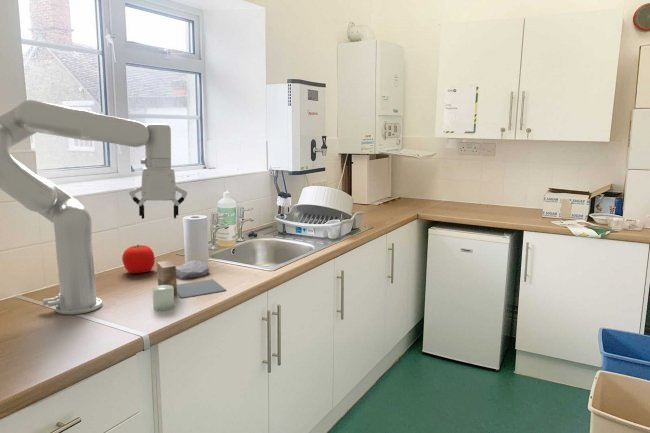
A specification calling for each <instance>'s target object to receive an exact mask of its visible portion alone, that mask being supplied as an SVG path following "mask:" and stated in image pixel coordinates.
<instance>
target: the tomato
mask: <svg viewBox="0 0 650 433" xmlns="http://www.w3.org/2000/svg"><path fill="white" fill-rule="evenodd" d="M155 258H156V257H155V254H154V250H153V249H152V248H151V247H150V246H149V245H145V244H142V245H141V244H136V245H131V246H129V247H127V248H126V249H125V250H124V251H123V253H122V257H121V260H122V263H123V267H124V268H125V270H126V271H128V272H129V273H131V274H144V273H146V272H150V270H152V269H153V268H154V265H155Z"/></svg>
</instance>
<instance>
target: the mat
mask: <svg viewBox="0 0 650 433" xmlns="http://www.w3.org/2000/svg"><path fill="white" fill-rule="evenodd" d="M222 292H227V289H226V288H224V287H223V286H222V285H220V284H219V283H218V282H217V281H216V280H214V279H212V278H211V279H206V280H205V279H204V280H199V281H191V282H185V283H179V284H178V283H177V297H179V298H180V299H186V298H193V297H198V296H204V295H209V294H216V293H222Z"/></svg>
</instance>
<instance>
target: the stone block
mask: <svg viewBox="0 0 650 433" xmlns="http://www.w3.org/2000/svg"><path fill="white" fill-rule="evenodd" d="M175 266H176V278H178V279H180V280H184V279H191V278H198V277H203V276H206V275H208V274H209V272H210V270H209V267H208V265H207V264H206V263H204V262H202V261H200V260H189V261H187V262H184V263H183V264H182V265H175Z"/></svg>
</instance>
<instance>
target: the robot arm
mask: <svg viewBox="0 0 650 433" xmlns="http://www.w3.org/2000/svg"><path fill="white" fill-rule="evenodd" d="M36 133H40V134H45V135H52V136H57V137H64V138H69V139H74V140H81V141H90V142H91V141H94V142H102V143H109V144H114V145H119V146H120V145H121V146H125V147H126V146H127V147H131V148H140V147H143V146H144V147H145V158H143V159H140V164H141V165H144V166H145V167H143V168H142V173H141V175H142V176H141V186H138V187H136V188H134V189H132V190H129V193H128V194H129V195H130V197H131V199H132V200H133V202H134V203H136V205H138V206H139V207H138V209H139V211H138V212H139V213H138V215H139V216H140V217H141V219H142V220H143V219H145V205H144V204H145V202H147V201H151V202H152V201H154V202H155V201H171V202H172V203H173V219H177V216H179V206H180V205H181V204H182V203H183V202H184V201H185V199H186V197H187V196H188V191H186V190H185V189H182V188H180V187H178V186H176V174H175V169H174V168H173V167H172V130H171V125H169V124H168V123H167V124H166V123H154V122H153V123H142V122H140V121H137V120H132V119H127V118H122V117H117V116H112V115H111V116H110V115H106V114H101V113H97V112H94V111H88V110H87V109H81V108H77V107H76V108H75V107H70V106H65V105H60V104H55V103H49V102H44V101H41V100H40V101H39V100H33V99H27V100H24V101H22V102H20V103H19V104H18V105H17V106H15V107H13V108H11V110H9V111H7V112H6V113H3V114H1V115H0V190H1V191H3V192H4V193H5V194H7V195H8V196H9V197H11V198H13V199H14V200H16V201H17V202H18V203H20V204H21V205H22V206H23V207H24V208H26V209H27V210H29V211H31V212H34V213H38V214H39V215H41V216H42V217H43V218H45V219H46V220H48V221H50V222H51V223H53V229H54V240H55V241H54V242H55V254H56V262H57V263H56V264H57V272H58V283H59V292H58V295H56V296H54V297H51V298H50V297H49V298H43V299H42V304H43V306H48V307H53V306H55V312H57V313H58V314H61V315H80V314H84V313H85V314H86V313H89V312H90V313H91V312H93V311H96V310H98V309H99V308H101V307H102V306H103V300H102V299H101V298H99V297H97V291H96V279H95V276H96V275H95V267H94V264H95V263H94V253H93V236H92V233H93V232H92V231H93V226H92V218H91V214H90V212H89V211H88V209H87V208H86V206H84V205H83V204H82V203H81V202H80V201H78V200H77V199H76V198H74V197H73V196H72V195H70V194H69V193H67V192H66V191H65V190H64V189H62V188H60V186H58V185H57V184H56V183H54V182H52V181H51V180H50V179H48V178H45V177H43V176H39V175H37V174H36V173H34V172H33V171H32V170H30V169H29V168H28V167H27V166H25V165H24V164H22V163H21V162H20V161H18V160H17V159H15V158H14V156H12V154H11V152H10V150H9V149H10V148H12V147H14V146H15V145H17V144H19V143H22V142H23V141H24V140H26V139H28V138H30V137H32V136H33V135H35V134H36ZM140 192H141V199H139V198H138V197H137V196H136V194H137V193H140ZM177 192H178V193H180V194H181V196H180V197H179V198H178V199H177V197H176V196H177Z"/></svg>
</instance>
